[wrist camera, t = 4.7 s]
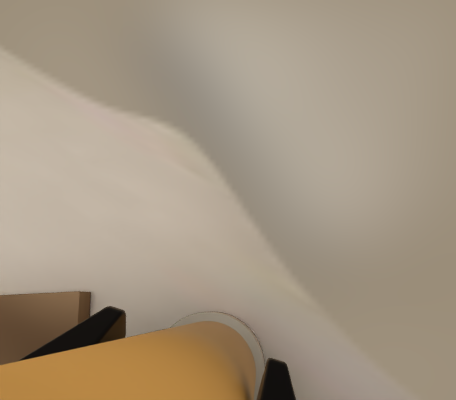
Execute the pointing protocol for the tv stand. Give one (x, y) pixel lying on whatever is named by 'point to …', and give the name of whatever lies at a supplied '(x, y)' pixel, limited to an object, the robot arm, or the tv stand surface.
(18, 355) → the subfloor panel
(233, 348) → the orange rounded post
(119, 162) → the tv stand surface
